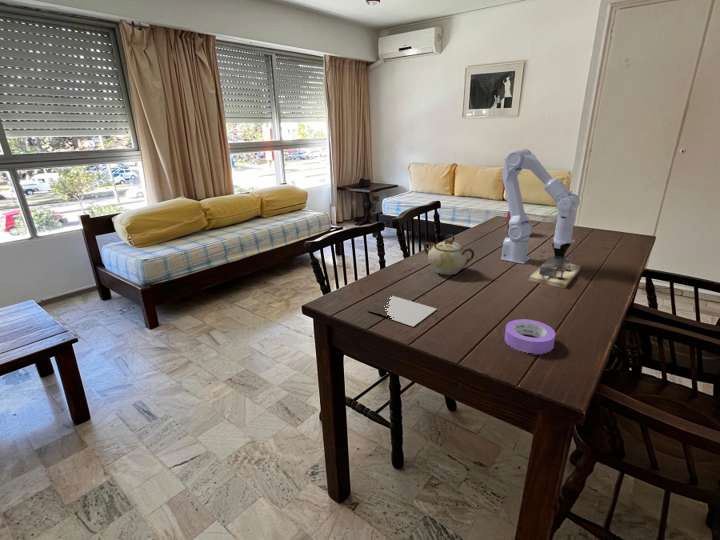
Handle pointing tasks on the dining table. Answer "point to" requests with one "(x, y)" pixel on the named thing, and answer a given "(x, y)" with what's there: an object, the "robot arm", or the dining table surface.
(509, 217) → the mechanical component
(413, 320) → the paper stack
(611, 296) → the dining table surface
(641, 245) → the dining table surface
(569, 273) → the hole board
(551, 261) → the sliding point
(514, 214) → the robot arm
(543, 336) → the masking tape
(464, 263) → the cream teapot
